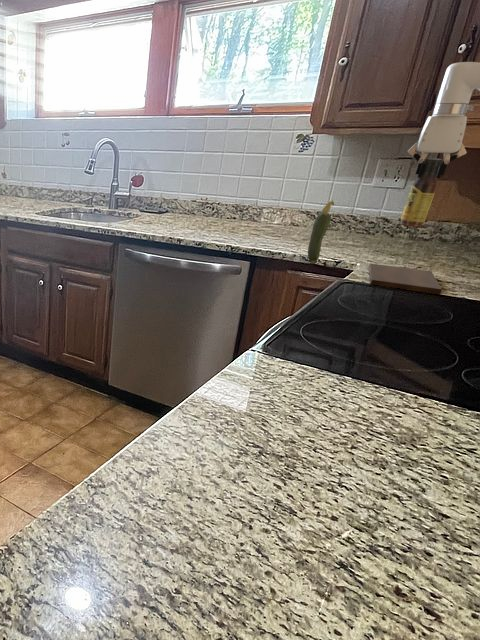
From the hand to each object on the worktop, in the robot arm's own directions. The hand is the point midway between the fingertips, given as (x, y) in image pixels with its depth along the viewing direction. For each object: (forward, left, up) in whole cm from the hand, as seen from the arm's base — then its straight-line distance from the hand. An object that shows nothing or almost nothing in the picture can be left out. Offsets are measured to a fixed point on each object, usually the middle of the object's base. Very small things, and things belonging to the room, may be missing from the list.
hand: (428, 176), depth 159 cm
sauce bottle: (0, 0, -15) cm, 15 cm away
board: (0, +20, -28) cm, 34 cm away
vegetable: (+24, +12, -28) cm, 39 cm away
